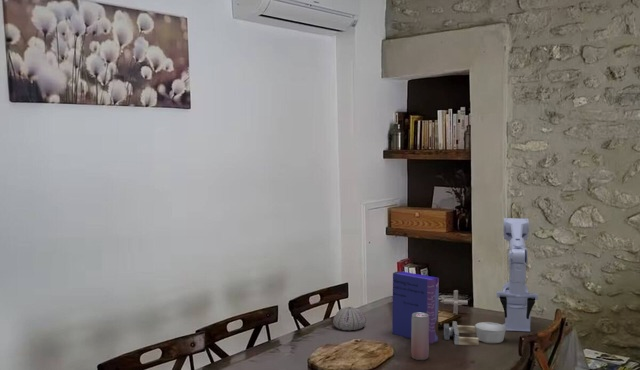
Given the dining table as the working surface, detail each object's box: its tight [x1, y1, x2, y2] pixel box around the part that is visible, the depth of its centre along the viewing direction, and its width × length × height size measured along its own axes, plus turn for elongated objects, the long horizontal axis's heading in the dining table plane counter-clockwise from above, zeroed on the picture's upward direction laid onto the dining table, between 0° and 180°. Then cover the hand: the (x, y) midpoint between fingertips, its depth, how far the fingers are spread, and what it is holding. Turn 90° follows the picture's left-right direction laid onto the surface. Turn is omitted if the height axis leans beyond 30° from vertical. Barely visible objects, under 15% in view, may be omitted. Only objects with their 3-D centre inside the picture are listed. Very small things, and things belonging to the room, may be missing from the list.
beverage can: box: [410, 312, 430, 361], centre depth 210 cm, size 6×6×15 cm
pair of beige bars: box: [457, 324, 480, 347], centre depth 232 cm, size 7×16×2 cm, turn 171°
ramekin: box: [474, 321, 507, 344], centre depth 230 cm, size 11×11×5 cm
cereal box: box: [391, 270, 440, 345], centre depth 232 cm, size 17×5×24 cm, turn 47°
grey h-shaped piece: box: [443, 320, 460, 346], centre depth 232 cm, size 5×16×4 cm, turn 171°
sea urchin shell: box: [332, 306, 367, 331], centre depth 246 cm, size 13×14×8 cm
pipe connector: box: [443, 289, 468, 315], centre depth 265 cm, size 10×10×10 cm
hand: (516, 317), depth 227 cm, fingers open, 7 cm apart
